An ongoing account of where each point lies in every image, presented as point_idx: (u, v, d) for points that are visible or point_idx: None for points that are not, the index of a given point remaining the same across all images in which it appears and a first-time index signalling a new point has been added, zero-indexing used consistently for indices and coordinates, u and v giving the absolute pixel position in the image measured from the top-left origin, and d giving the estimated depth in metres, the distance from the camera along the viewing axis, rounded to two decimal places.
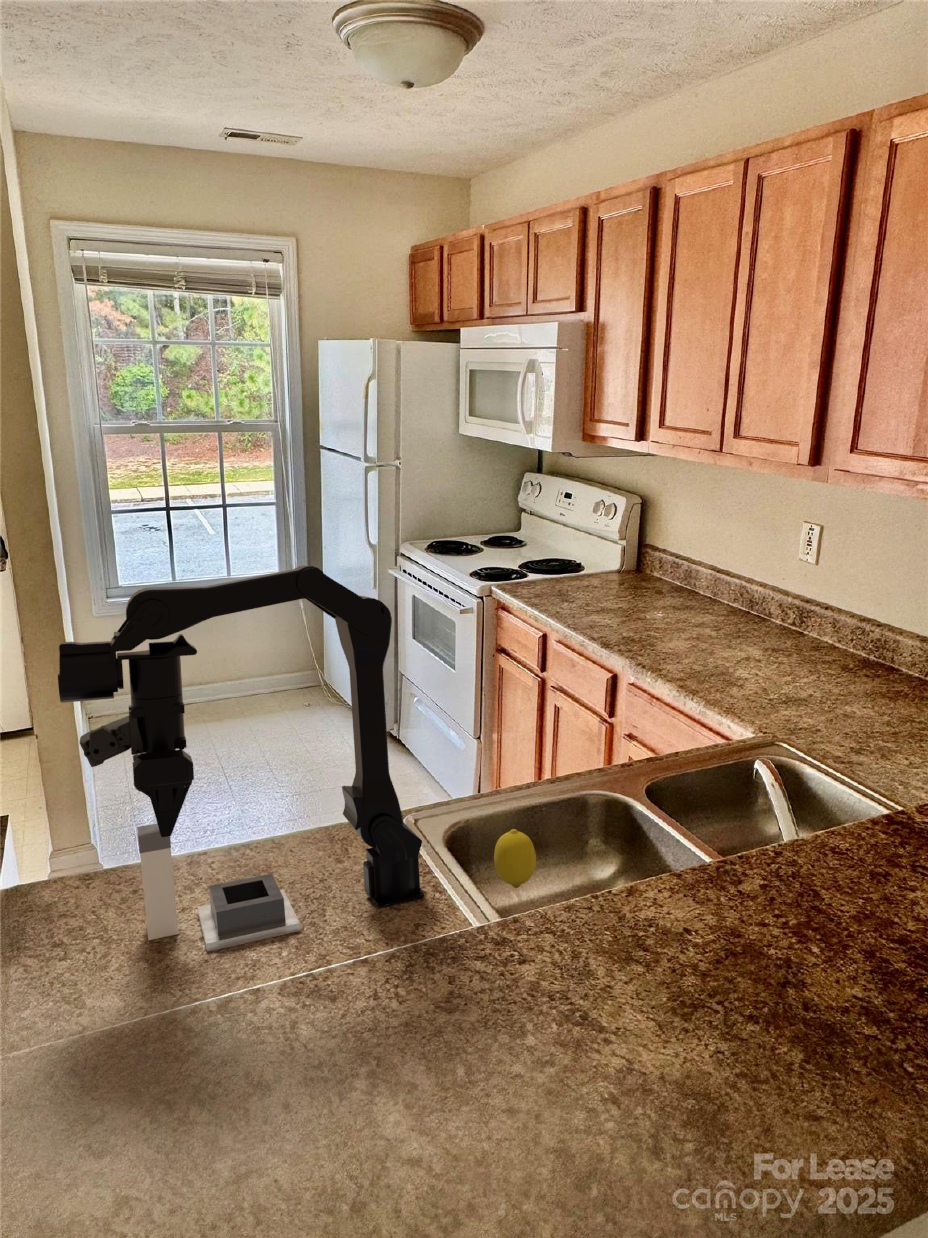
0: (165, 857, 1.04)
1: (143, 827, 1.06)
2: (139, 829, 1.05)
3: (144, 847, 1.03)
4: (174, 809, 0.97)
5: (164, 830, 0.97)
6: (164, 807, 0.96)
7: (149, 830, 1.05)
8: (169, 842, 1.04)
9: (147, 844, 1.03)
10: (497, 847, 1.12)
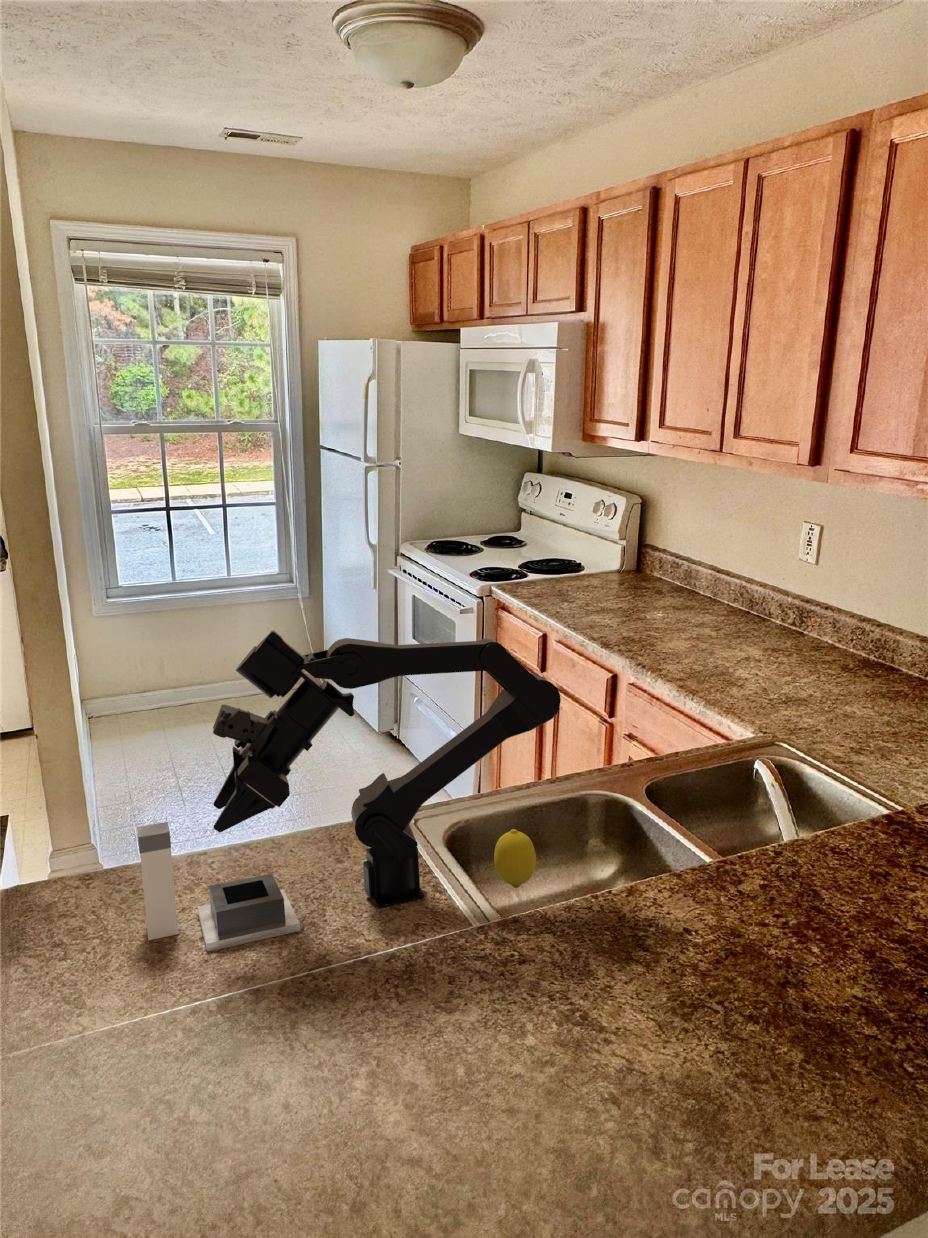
0: (165, 857, 1.04)
1: (143, 827, 1.06)
2: (139, 829, 1.05)
3: (144, 847, 1.03)
4: (241, 815, 1.02)
5: (220, 824, 1.02)
6: (237, 808, 1.02)
7: (149, 830, 1.05)
8: (169, 842, 1.04)
9: (147, 844, 1.03)
10: (497, 847, 1.12)
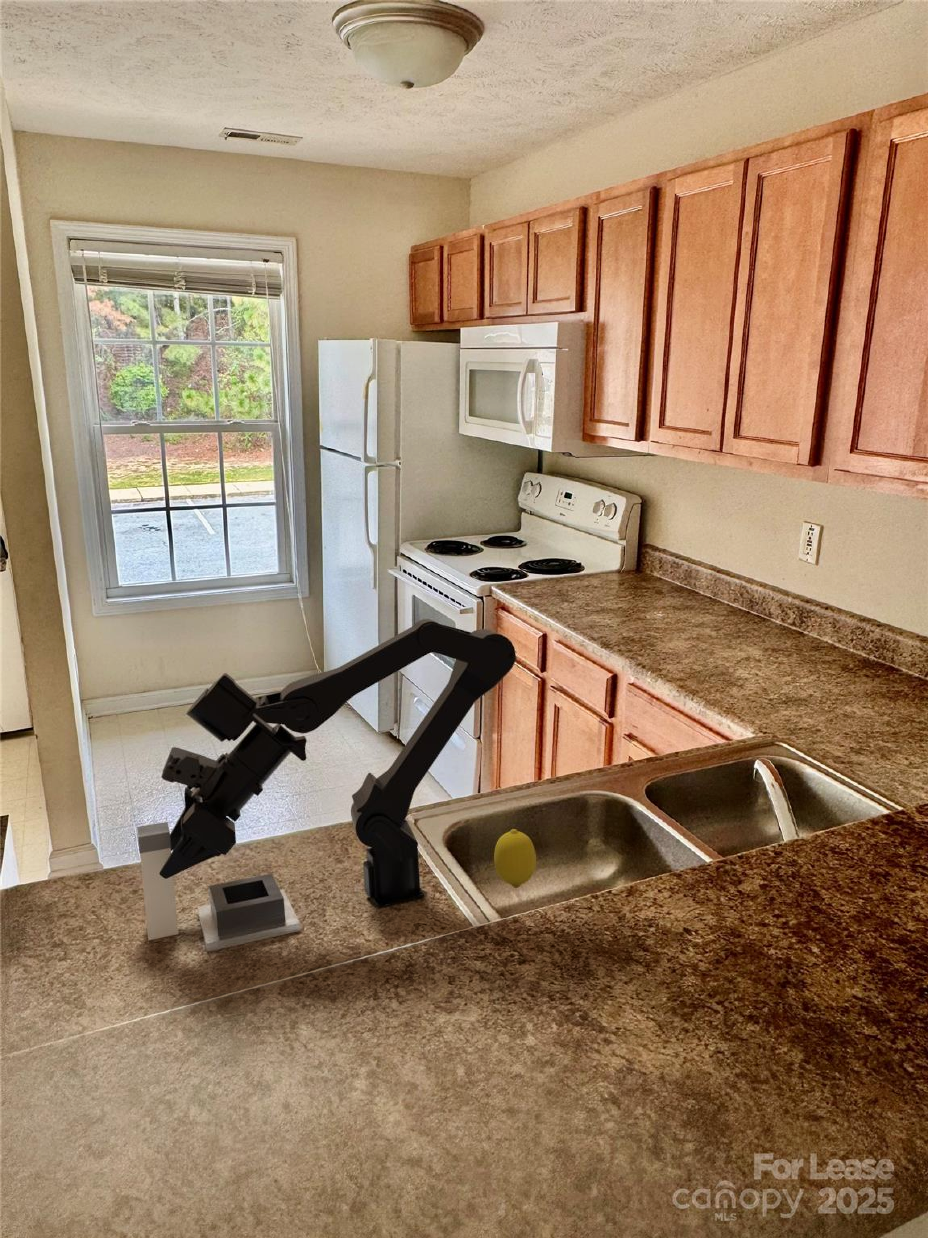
0: (165, 857, 1.04)
1: (143, 827, 1.06)
2: (139, 829, 1.05)
3: (144, 847, 1.03)
4: (187, 862, 1.01)
5: (166, 870, 1.01)
6: (183, 854, 1.01)
7: (149, 830, 1.05)
8: (169, 842, 1.04)
9: (147, 844, 1.03)
10: (497, 847, 1.12)
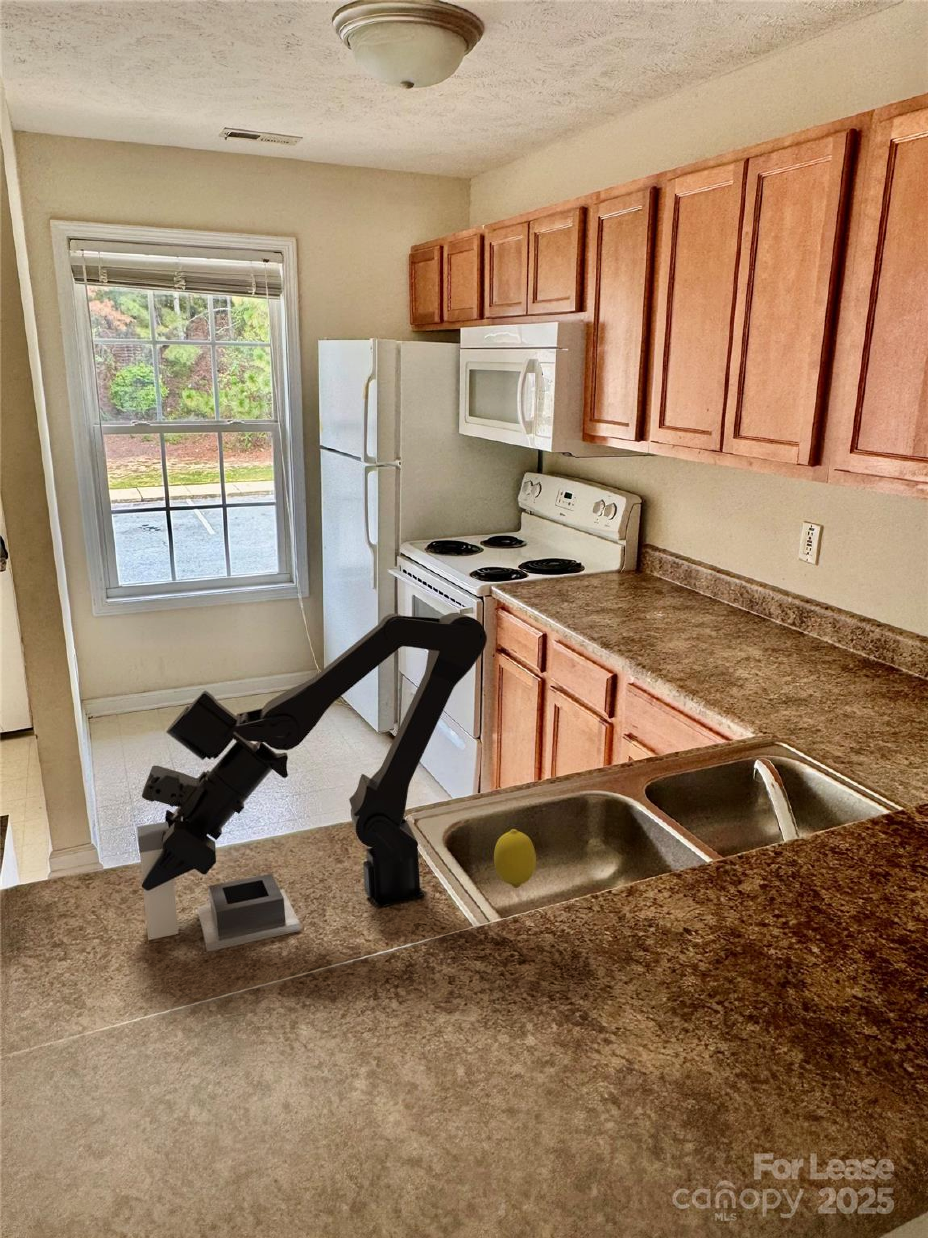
0: None
1: (142, 827, 1.06)
2: (139, 829, 1.05)
3: (144, 847, 1.03)
4: (169, 874, 1.03)
5: (148, 883, 1.03)
6: (164, 867, 1.02)
7: (149, 830, 1.05)
8: None
9: (146, 844, 1.03)
10: (497, 847, 1.12)
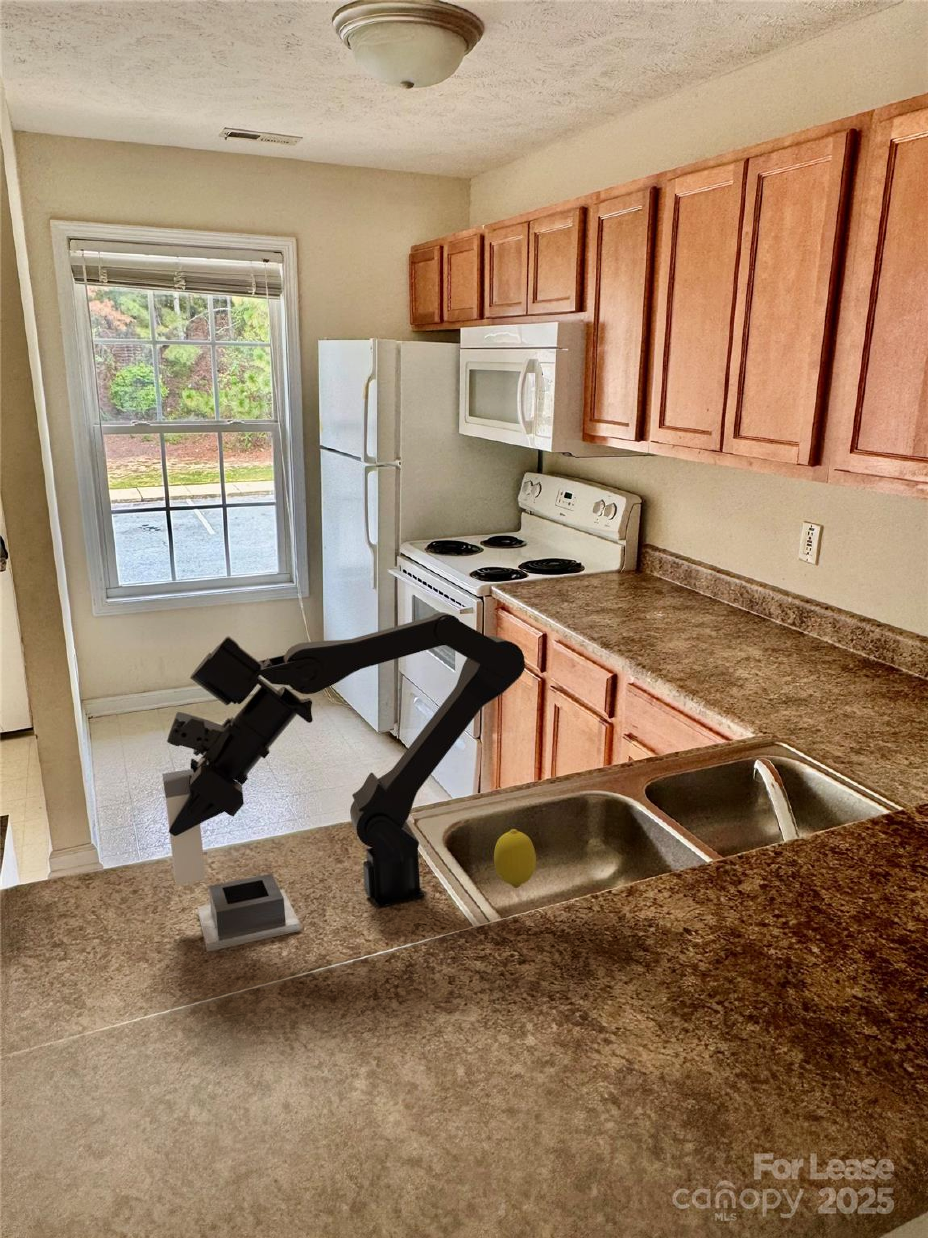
0: None
1: (168, 774, 1.06)
2: (165, 775, 1.05)
3: (170, 792, 1.03)
4: (196, 819, 1.02)
5: (175, 828, 1.03)
6: (191, 811, 1.02)
7: (175, 776, 1.05)
8: None
9: (173, 789, 1.03)
10: (497, 847, 1.12)
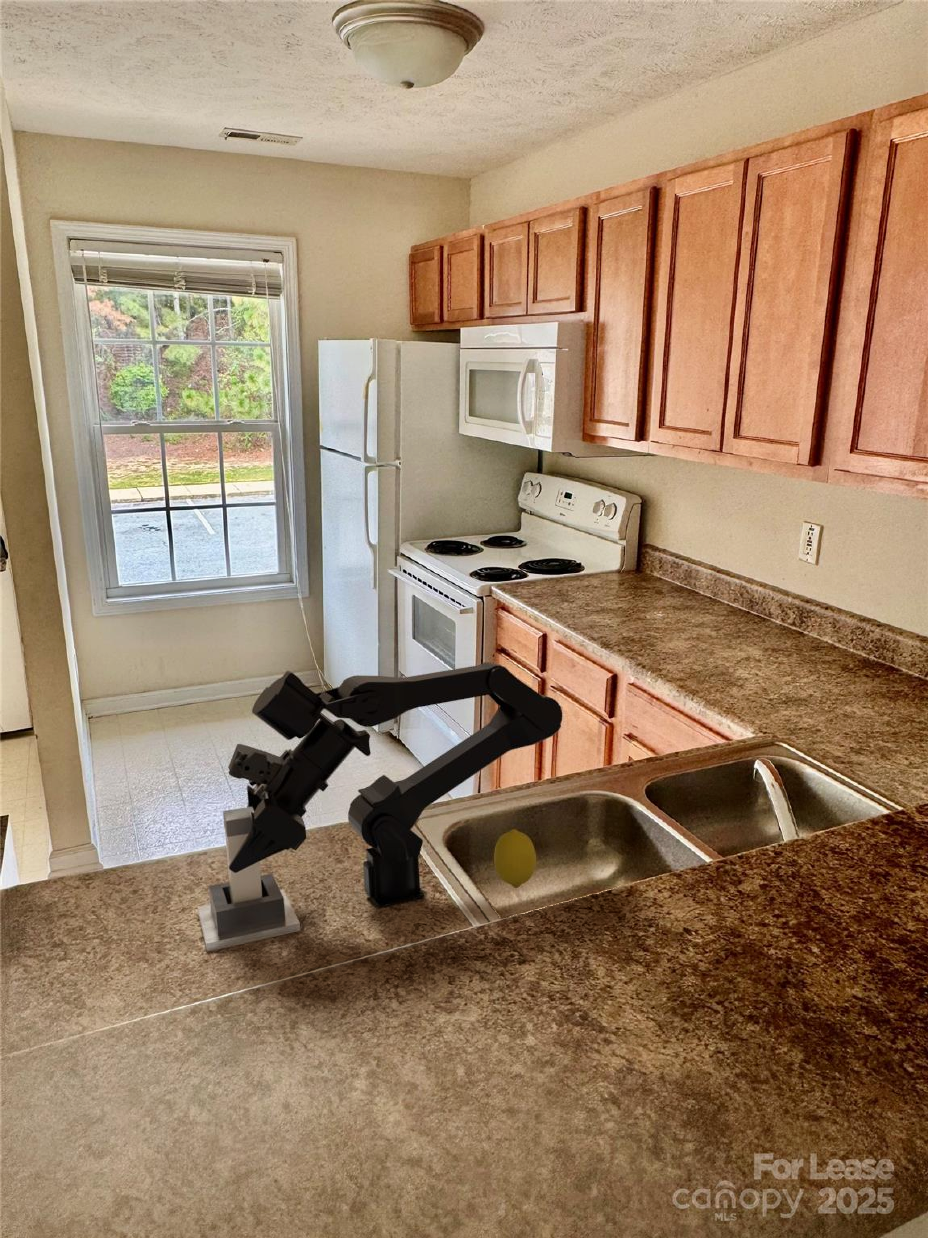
0: None
1: (228, 812, 1.07)
2: (226, 814, 1.06)
3: (231, 831, 1.04)
4: (257, 856, 1.02)
5: (235, 864, 1.02)
6: (252, 848, 1.02)
7: (236, 814, 1.06)
8: None
9: (234, 828, 1.04)
10: (497, 847, 1.12)
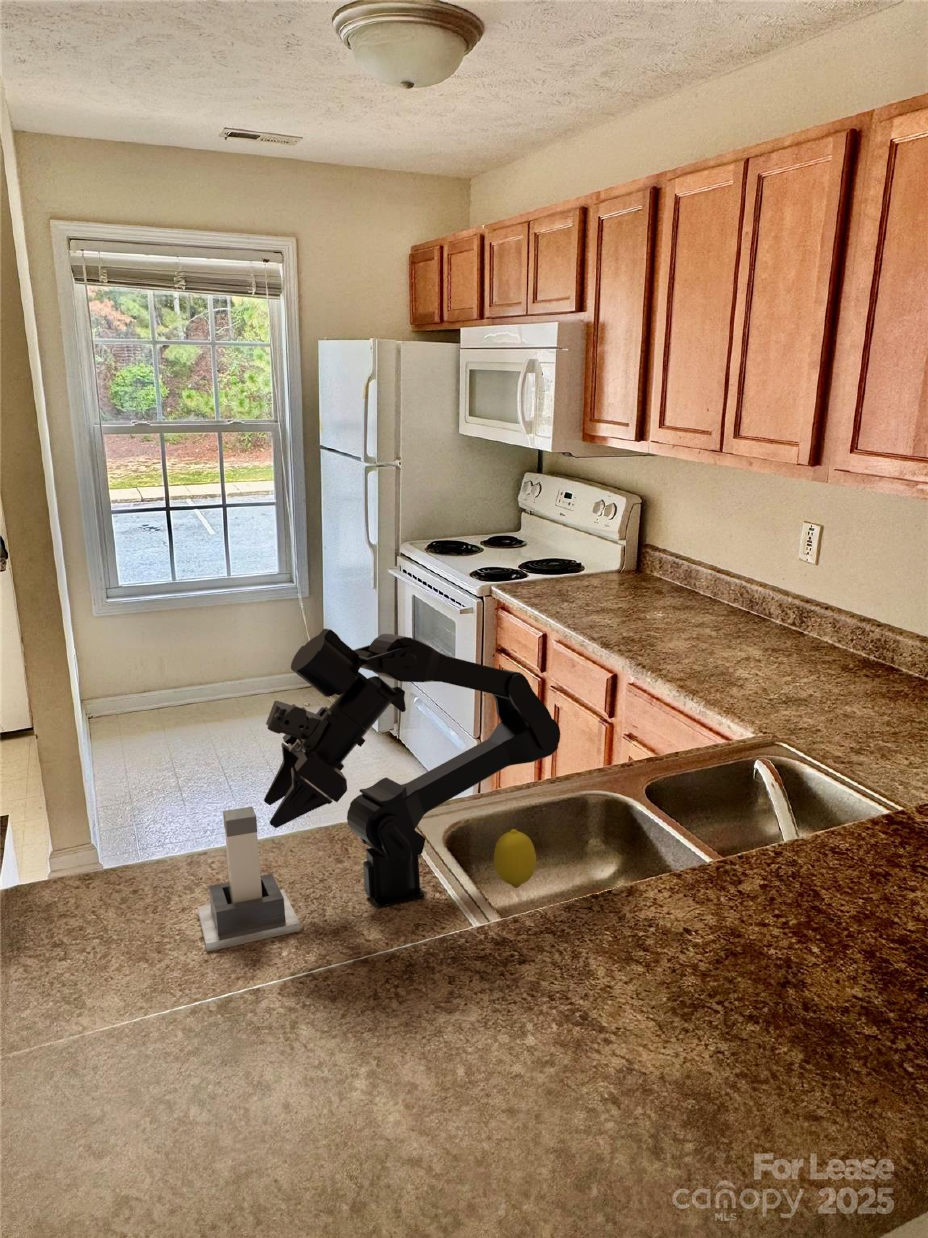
0: (251, 841, 1.05)
1: (228, 811, 1.07)
2: (226, 813, 1.06)
3: (231, 831, 1.04)
4: (298, 811, 1.02)
5: (276, 820, 1.02)
6: (293, 803, 1.02)
7: (235, 814, 1.06)
8: (255, 826, 1.05)
9: (234, 828, 1.04)
10: (497, 847, 1.12)
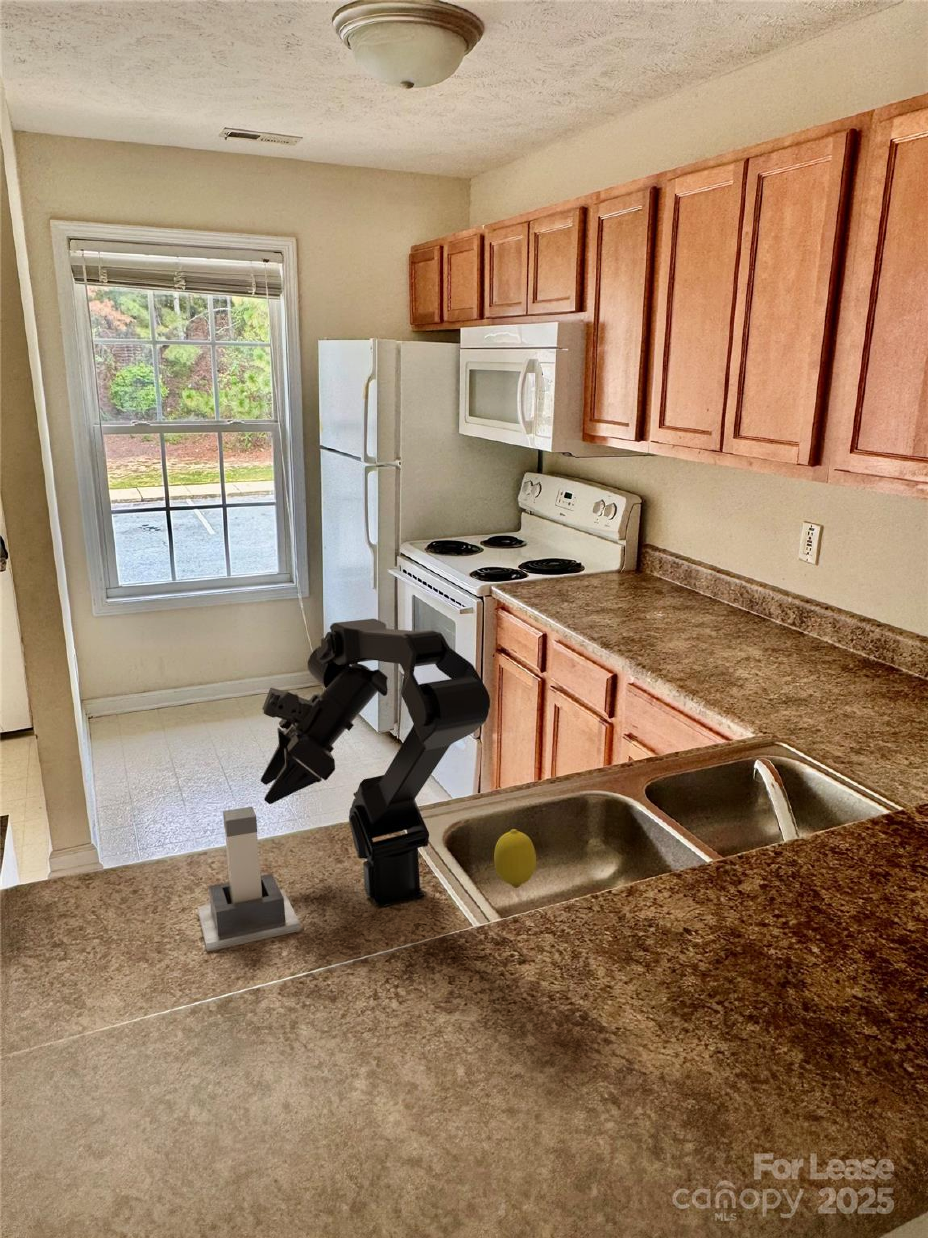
0: (251, 841, 1.05)
1: (228, 811, 1.07)
2: (226, 813, 1.06)
3: (231, 831, 1.04)
4: (290, 788, 1.11)
5: (270, 796, 1.11)
6: (286, 781, 1.11)
7: (235, 814, 1.06)
8: (255, 826, 1.05)
9: (234, 828, 1.04)
10: (497, 847, 1.12)
